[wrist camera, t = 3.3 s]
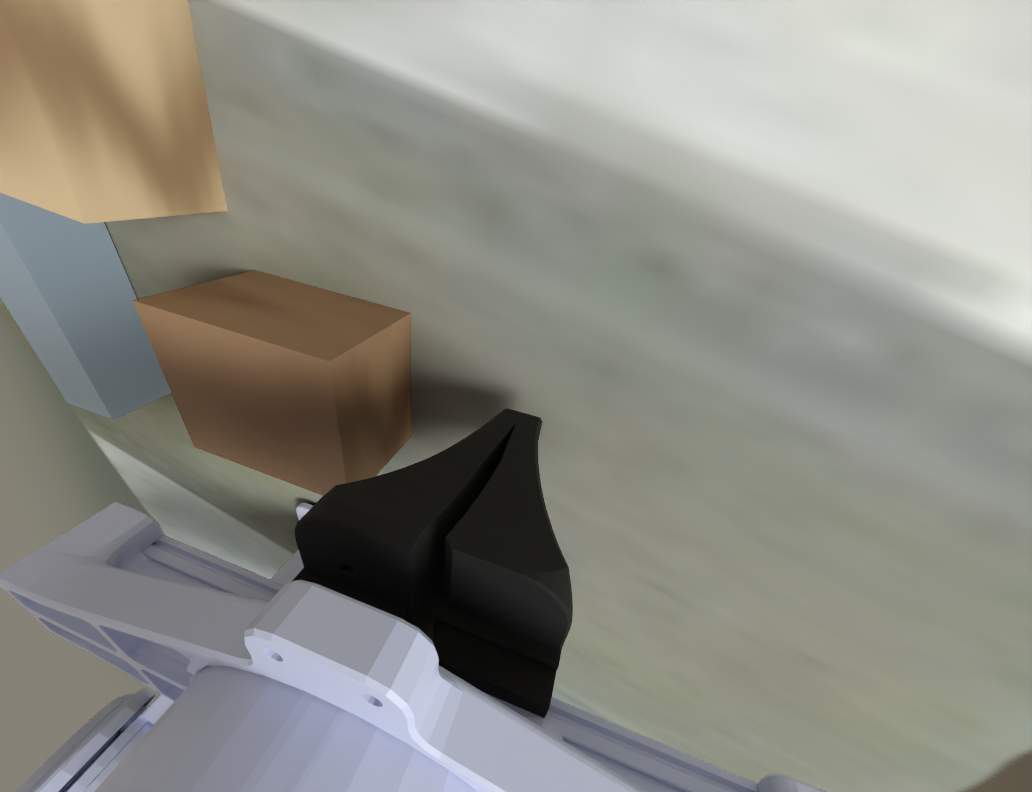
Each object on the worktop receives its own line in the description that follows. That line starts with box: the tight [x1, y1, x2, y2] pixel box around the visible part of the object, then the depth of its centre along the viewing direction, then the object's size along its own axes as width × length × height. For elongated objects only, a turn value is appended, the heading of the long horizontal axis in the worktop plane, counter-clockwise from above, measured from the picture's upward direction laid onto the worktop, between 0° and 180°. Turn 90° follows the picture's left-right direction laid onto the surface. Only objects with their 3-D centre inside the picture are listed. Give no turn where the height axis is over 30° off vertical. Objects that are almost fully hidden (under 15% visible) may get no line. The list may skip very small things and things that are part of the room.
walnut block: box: [133, 270, 411, 496], centre depth 14 cm, size 6×7×4 cm
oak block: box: [0, 0, 227, 224], centre depth 11 cm, size 6×7×4 cm
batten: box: [0, 193, 171, 420], centre depth 15 cm, size 18×3×3 cm, turn 172°
